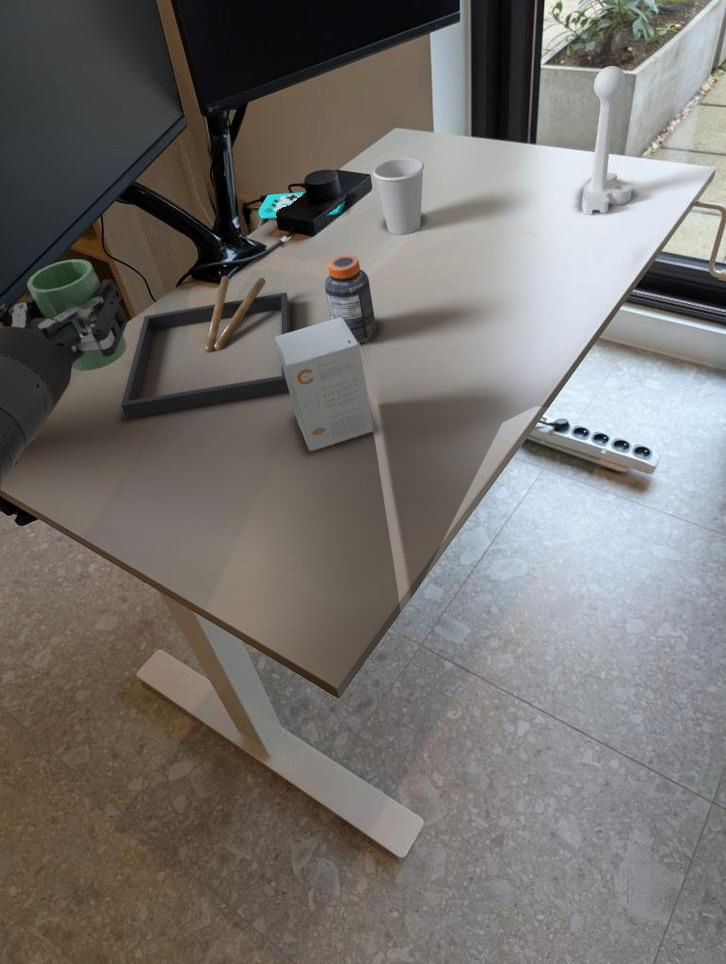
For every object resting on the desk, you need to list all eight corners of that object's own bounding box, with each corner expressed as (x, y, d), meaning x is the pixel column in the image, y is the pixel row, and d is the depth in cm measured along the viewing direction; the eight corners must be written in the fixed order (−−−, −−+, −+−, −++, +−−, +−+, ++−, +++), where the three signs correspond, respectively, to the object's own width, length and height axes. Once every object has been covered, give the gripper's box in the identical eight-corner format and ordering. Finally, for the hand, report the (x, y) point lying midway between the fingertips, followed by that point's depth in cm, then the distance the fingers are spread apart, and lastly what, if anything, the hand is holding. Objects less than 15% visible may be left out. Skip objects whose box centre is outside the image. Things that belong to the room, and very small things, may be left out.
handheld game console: (269, 199, 133) (267, 192, 132) (348, 194, 130) (347, 187, 129) (255, 223, 127) (253, 216, 126) (339, 218, 123) (337, 211, 122)
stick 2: (258, 277, 102) (211, 347, 97) (262, 274, 101) (214, 345, 96) (264, 282, 102) (217, 353, 97) (268, 280, 101) (221, 351, 96)
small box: (359, 405, 85) (343, 314, 76) (375, 436, 80) (360, 343, 71) (297, 425, 84) (273, 335, 74) (310, 457, 79) (286, 365, 70)
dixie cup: (395, 243, 114) (389, 182, 107) (371, 226, 119) (363, 168, 112) (437, 226, 116) (434, 166, 109) (411, 211, 121) (406, 153, 114)
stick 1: (229, 274, 102) (211, 349, 96) (230, 280, 103) (213, 354, 97) (221, 273, 102) (203, 348, 96) (222, 279, 103) (204, 354, 97)
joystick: (588, 185, 119) (601, 55, 105) (634, 186, 116) (653, 53, 102) (577, 214, 112) (589, 79, 98) (625, 216, 110) (645, 77, 95)
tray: (292, 396, 88) (287, 378, 86) (129, 423, 88) (120, 405, 86) (290, 309, 103) (286, 292, 101) (151, 333, 104) (144, 316, 102)
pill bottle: (357, 318, 99) (345, 245, 91) (385, 332, 95) (375, 257, 87) (326, 337, 96) (311, 264, 88) (354, 352, 93) (341, 277, 85)
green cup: (62, 375, 69) (19, 296, 63) (75, 341, 74) (36, 265, 68) (121, 365, 69) (85, 285, 63) (130, 332, 74) (97, 254, 67)
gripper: (65, 350, 53) (133, 249, 65) (-97, 361, 56) (-3, 261, 67) (103, 423, 59) (160, 317, 70) (-46, 430, 61) (33, 326, 73)
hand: (80, 290), depth 69 cm, fingers closed on green cup, 6 cm apart
